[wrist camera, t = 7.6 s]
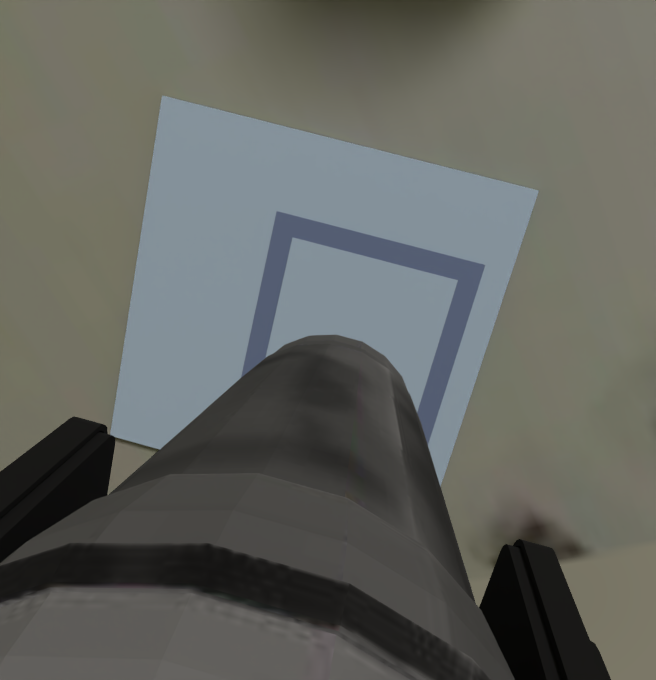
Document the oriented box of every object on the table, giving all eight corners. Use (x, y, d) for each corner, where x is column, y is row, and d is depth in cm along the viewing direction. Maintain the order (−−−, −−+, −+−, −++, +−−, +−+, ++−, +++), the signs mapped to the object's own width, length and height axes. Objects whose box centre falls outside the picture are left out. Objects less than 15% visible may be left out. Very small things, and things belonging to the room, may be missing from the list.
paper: (537, 190, 22) (539, 190, 22) (427, 520, 26) (427, 524, 26) (165, 96, 23) (161, 95, 23) (113, 432, 27) (109, 436, 27)
